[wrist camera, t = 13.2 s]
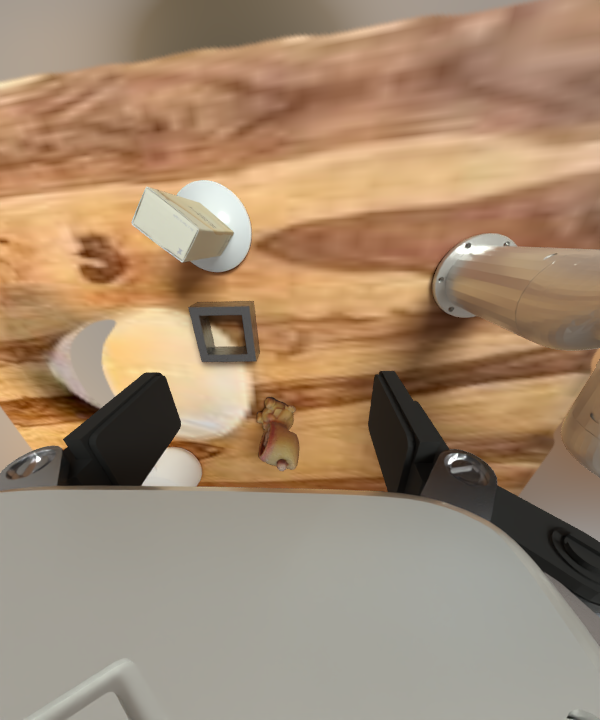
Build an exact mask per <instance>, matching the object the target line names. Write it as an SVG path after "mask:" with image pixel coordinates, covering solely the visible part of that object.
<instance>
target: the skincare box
mask: <svg viewBox="0 0 600 720" xmlns="http://www.w3.org/2000/svg"><path fill="white" fill-rule="evenodd" d="M132 225H133V226H134V227H136V228H137V229H138V230H139V231H141V232H142V233H143V234H145V235H146V236H147V237H148V238H150V239H151V240H152V241H154V242H155V243H156V244H158V245H159V246H160V247H162V248H163V249H164V250H166V251H167V252H168V253H170V254H171V255H173V256H174V257H175V258H177V259H178V260H179V261H181V262H188V261H193V260H199V259H205V258H210V257H216V256H221V255H222V253H223V251H224V250H225V248H226V246H227V245H228V243H229V241H230V240H231V238H232V236H233V234H234V232H233V231H232V230H231V229H230V228H229V227H228V226H227V225H225V224H224V223H223V222H222V221H221V220H220V219H219V218H217V217H216V216H215V215H214V214H213V213H211V212H210V211H209V210H208V209H207V208H206V207H204V206H203V205H202V204H201V203H199V202H196V201H193V200H189V199H186V198H183V197H179V196H176V195H173V194H169V193H166V192H163V191H159V190H156V189H153V188H149V187H146V188H145V191H144V193H143V195H142V197H141V200H140V202H139V204H138V207H137V209H136V212H135V215H134V217H133V219H132Z"/></svg>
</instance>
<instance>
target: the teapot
mask: <svg viewBox="0 0 600 720" xmlns="http://www.w3.org/2000/svg"><path fill="white" fill-rule="evenodd" d="M201 476H202V468H201V465H200V463H199V461H198V459H197V458H196V457H195V456H194V454H192V453H191V452H189V451H188V450H185V449H183V448H179V447H167V448H166V450H165V451H164V453H163V454H162V456H161V457H160V459H159V460H158V462H157V463H156V465H155V466H154V467H153V469H152V470H151V472H150V473H149V475H148V476H147V478H146V479H145V481H144V482H143V484H142V485H141V486H185V487H196V486H197V485H198V483H199V482H200V480H201Z"/></svg>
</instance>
